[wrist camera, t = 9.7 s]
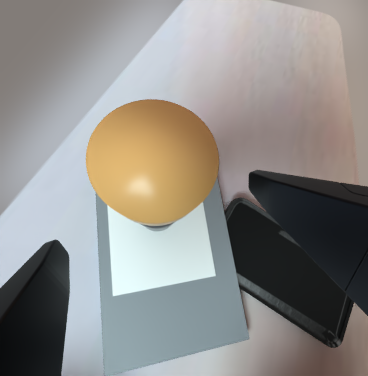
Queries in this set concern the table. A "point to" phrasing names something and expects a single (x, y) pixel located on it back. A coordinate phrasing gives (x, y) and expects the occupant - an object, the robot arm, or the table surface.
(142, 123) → the grey cylinder
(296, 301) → the phone
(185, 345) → the writing board
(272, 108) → the table surface
